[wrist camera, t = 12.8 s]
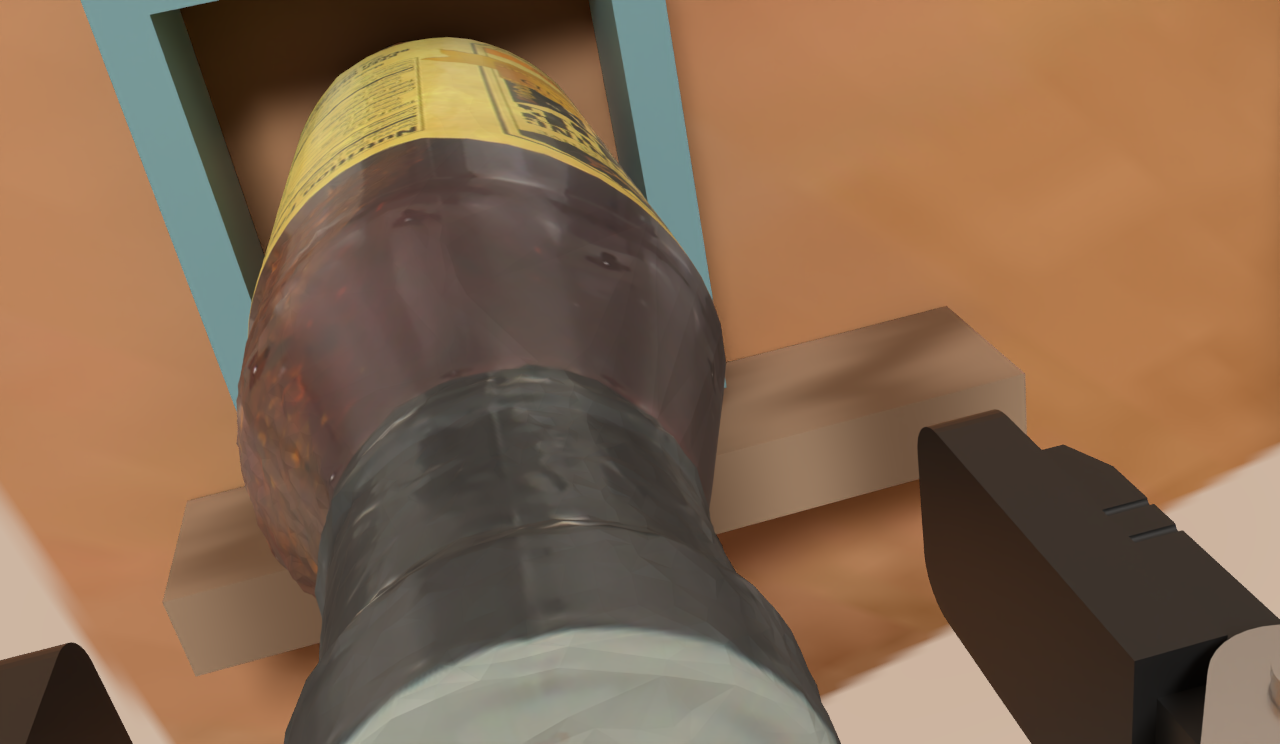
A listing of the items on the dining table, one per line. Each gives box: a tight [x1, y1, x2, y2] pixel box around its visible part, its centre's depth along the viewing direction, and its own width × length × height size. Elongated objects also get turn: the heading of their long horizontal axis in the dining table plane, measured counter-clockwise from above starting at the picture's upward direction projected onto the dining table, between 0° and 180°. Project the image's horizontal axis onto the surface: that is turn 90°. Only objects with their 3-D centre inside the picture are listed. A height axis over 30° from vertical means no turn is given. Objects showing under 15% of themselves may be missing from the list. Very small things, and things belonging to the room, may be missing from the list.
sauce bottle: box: [236, 37, 841, 744], centre depth 17 cm, size 6×6×20 cm
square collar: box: [81, 0, 727, 411], centre depth 24 cm, size 10×11×3 cm
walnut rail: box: [163, 306, 1027, 676], centre depth 28 cm, size 19×2×4 cm, turn 100°
